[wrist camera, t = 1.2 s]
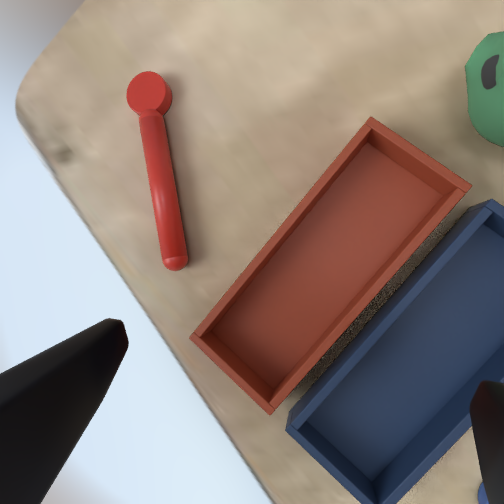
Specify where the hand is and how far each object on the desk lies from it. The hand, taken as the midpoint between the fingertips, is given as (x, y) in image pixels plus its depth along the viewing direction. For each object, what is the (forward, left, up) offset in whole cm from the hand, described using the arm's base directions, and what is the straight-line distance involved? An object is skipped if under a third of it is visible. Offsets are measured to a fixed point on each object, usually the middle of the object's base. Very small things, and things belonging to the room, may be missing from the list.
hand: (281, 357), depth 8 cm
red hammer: (0, +16, -17) cm, 23 cm away
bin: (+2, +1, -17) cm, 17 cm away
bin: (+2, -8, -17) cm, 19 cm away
